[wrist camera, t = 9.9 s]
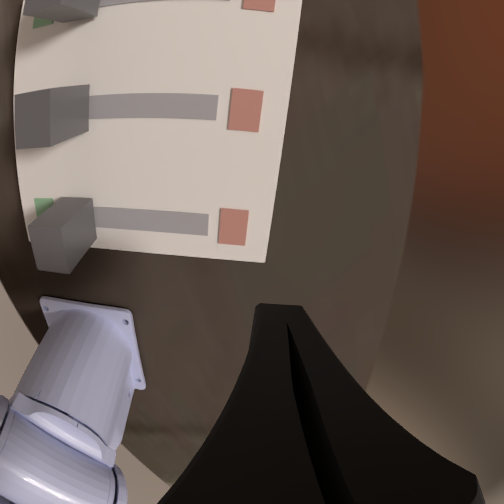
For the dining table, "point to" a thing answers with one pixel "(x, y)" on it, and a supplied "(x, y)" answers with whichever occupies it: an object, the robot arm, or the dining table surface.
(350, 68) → the dining table surface
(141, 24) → the breaker board
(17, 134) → the block
